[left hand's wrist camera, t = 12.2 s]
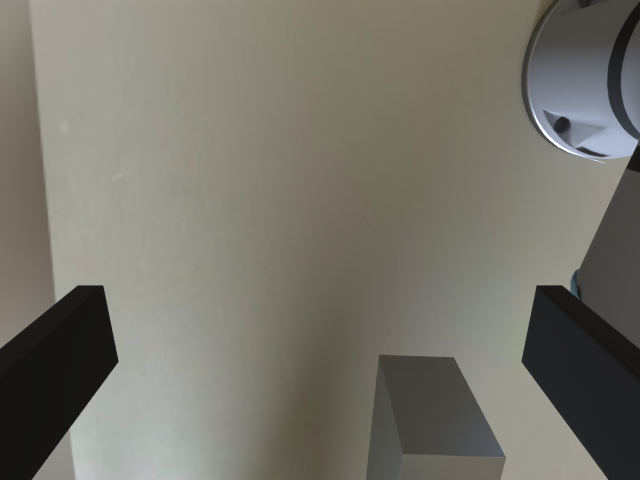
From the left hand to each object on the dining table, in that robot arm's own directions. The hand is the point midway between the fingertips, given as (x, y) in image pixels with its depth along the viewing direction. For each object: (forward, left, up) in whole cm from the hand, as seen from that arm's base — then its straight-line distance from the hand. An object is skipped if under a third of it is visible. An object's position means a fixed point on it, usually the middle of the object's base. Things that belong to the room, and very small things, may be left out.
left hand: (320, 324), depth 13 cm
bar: (+26, +7, -15) cm, 31 cm away
